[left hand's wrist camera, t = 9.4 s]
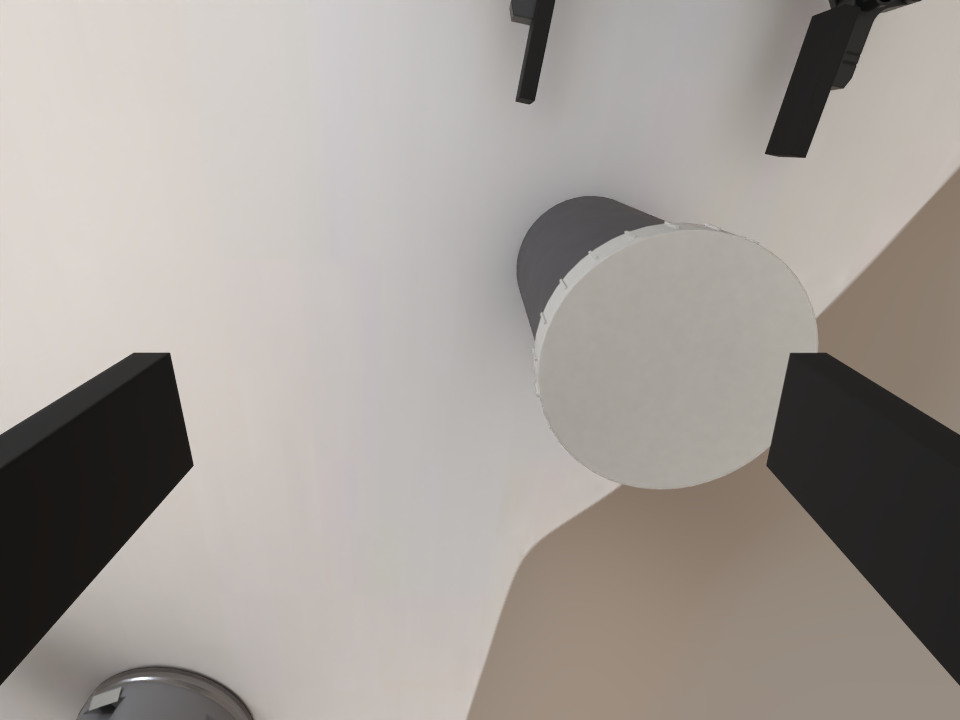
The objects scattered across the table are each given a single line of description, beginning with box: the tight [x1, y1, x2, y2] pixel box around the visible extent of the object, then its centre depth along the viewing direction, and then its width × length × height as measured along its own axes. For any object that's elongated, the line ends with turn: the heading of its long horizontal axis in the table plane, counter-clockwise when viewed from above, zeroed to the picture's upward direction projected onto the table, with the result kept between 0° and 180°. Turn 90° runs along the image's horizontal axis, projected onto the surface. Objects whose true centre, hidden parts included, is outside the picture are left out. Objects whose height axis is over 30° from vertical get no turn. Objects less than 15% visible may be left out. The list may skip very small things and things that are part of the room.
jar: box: [517, 196, 665, 339], centre depth 29 cm, size 9×9×18 cm
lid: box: [532, 221, 818, 489], centre depth 21 cm, size 10×10×2 cm
